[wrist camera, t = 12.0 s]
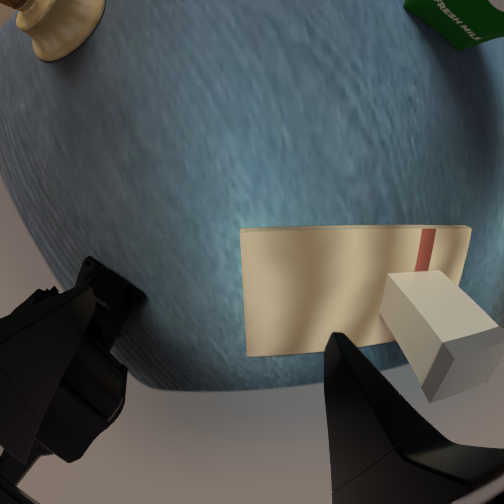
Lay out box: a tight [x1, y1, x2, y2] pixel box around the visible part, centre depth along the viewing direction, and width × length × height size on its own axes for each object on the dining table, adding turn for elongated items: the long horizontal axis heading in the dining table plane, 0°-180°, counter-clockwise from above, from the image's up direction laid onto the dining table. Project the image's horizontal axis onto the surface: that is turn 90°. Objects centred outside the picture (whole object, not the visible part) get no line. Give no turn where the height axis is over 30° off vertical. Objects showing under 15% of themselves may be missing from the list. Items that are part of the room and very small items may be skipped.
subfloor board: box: [240, 225, 472, 357], centre depth 23 cm, size 22×12×1 cm, turn 92°
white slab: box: [379, 270, 504, 403], centre depth 17 cm, size 6×4×11 cm
